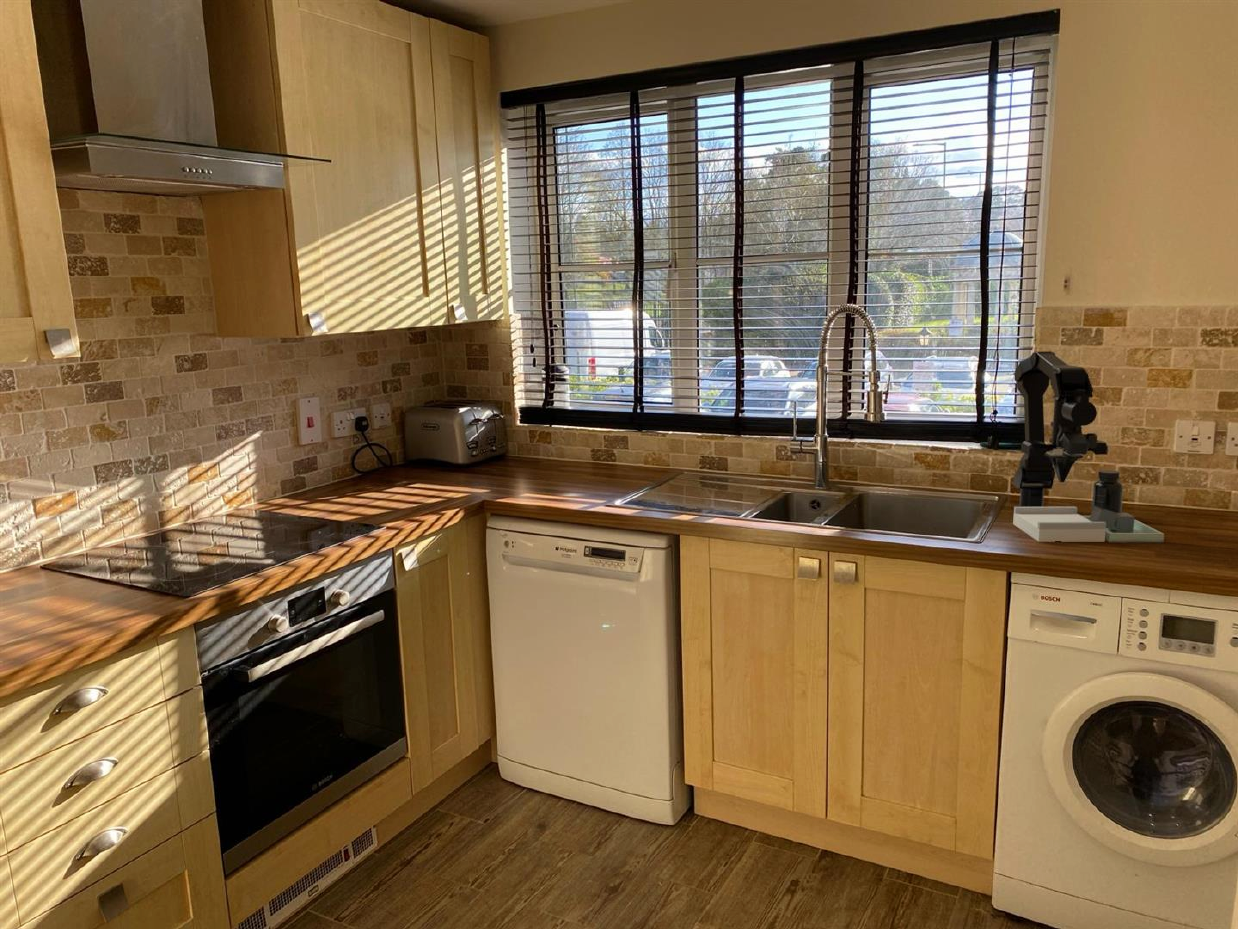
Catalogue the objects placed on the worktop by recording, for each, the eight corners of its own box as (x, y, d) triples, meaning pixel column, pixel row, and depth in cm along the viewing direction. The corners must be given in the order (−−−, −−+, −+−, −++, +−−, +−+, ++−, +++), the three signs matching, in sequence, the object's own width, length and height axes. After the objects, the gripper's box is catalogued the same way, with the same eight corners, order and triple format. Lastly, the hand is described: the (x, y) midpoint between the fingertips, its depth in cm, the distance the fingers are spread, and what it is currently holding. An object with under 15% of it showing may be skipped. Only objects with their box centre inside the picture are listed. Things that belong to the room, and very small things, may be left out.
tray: (1077, 523, 231) (1078, 515, 230) (1126, 523, 230) (1127, 515, 229) (1110, 542, 213) (1110, 533, 213) (1163, 542, 212) (1164, 533, 212)
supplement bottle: (1104, 512, 241) (1108, 468, 239) (1127, 518, 235) (1130, 472, 233) (1085, 515, 239) (1088, 470, 237) (1107, 521, 232) (1110, 474, 230)
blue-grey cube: (1088, 521, 223) (1094, 505, 222) (1104, 525, 223) (1110, 510, 222) (1095, 525, 219) (1101, 509, 218) (1112, 529, 219) (1118, 514, 218)
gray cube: (1109, 512, 222) (1126, 512, 222) (1108, 528, 223) (1125, 528, 223) (1117, 516, 218) (1134, 516, 218) (1115, 532, 219) (1133, 532, 219)
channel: (1013, 524, 231) (1014, 506, 231) (1074, 523, 230) (1075, 506, 229) (1038, 541, 215) (1039, 523, 214) (1104, 541, 214) (1106, 523, 213)
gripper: (1041, 425, 214) (1036, 490, 217) (1122, 423, 213) (1116, 488, 216) (1022, 418, 225) (1018, 479, 228) (1099, 416, 224) (1094, 478, 227)
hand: (1061, 482), depth 225 cm, fingers closed
